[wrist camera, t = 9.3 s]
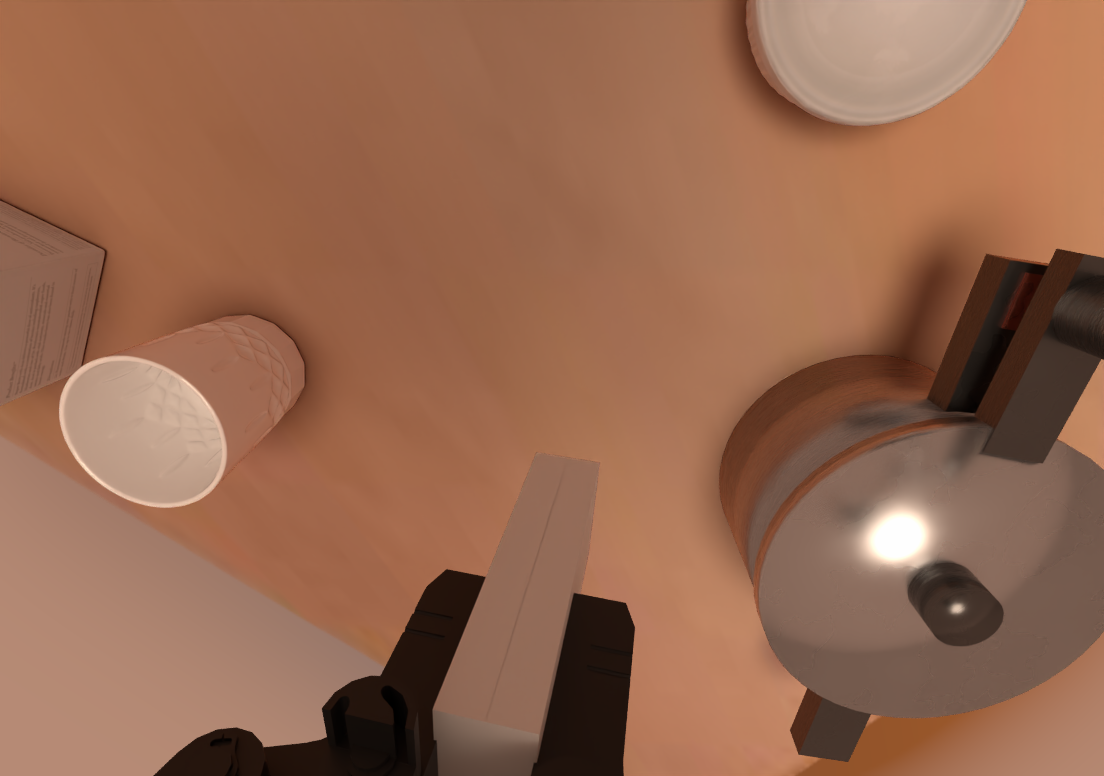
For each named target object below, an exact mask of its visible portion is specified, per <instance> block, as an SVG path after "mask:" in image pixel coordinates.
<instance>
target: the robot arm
mask: <svg viewBox="0 0 1104 776" xmlns="http://www.w3.org/2000/svg"><path fill="white" fill-rule="evenodd" d="M599 465H600V463H599V462H593V461H587V460H581V459H575V458H569V457H563V456H557V455H551V454H545V453H539V452H536V454H535V457H534V459H533V462H532V464H531V467H530V469H529V472H528V474H527V477H526V479H525V482H524V484H523V487H522V489H521V492H520V494H519V497H518V499H517V501H516V504H515V506H514V509H513V511H512V514H511V516H510V519H509V521H508V524H507V526H506V529H505V531H504V534H503V536H502V539H501V541H500V544H499V546H498V549H497V551H496V553H495V556H494V558H493V561H492V563H491V566H490V568H489V571H488V573H487V576H486V577H483V576H478V575H473V574H468V573H463V572H458V571H453V570H448V569H446V570H445V571H444V572H443V573H442V574H441V575H439V576H438V577H437V578H436V579H435V580H434V581H433V582H431V583H430V584H429V585H428V586H427V587H426V589H425V591H424V593H423V595H422V597H421V599H420V600H419V602H418V604H417V606H416V608H415V612H414V614H412V616H411V618H410V620H409V622H408V624H407V626H406V628H405V632H403V633H402V635H401V637H400V639H399V641H398V643H397V645H396V647H395V649H394V651H393V653H392V655H391V657H390V659H389V661H388V663H387V664H386V666H385V668H384V670H383V672H382V674H381V676H368V677H365V678H361V679H358V680H355V681H352V682H350V683H349V684H347V685H345V686H344V687H342V688H341V689H339V690H338V691H336V692H335V693H334V694H333V695H332V697H331V698H330V699H329V700H328V702H327V703H326V704H325V705H324V706H323V708H322V712H323V717H324V723H325V727H326V734H327V737H326V738H324V739H322V740H317V741H312V742H308V743H300V744H292V745H282V746H273V747H263V745H262V743H261V742H260V740H259V739H258V738H257V737H256V736H255V735H254V734H253V733H252V732H249V731H246V730H243V729H239V728H227V729H218V730H215V731H213V732H210V733H208V734H206V735H203V736H201V737H198V738H197V739H195V740H194V741H192V742H191V743H190V744H188V745H187V746H186V747H184V748H183V749H182V750H180V751H179V752H178V753H177V754H176V755H175V756H174V757H173V758H172V759H170V760H169V761H168V762H167V763H166V764H165V765H164V766H163V767H162V768H161V769H160V770H159V771H158V772H157V773H156V774H155V775H154V776H624V773H623V756H624V745H625V733H626V722H627V711H628V700H629V688H630V676H631V666H632V654H633V643H634V632H635V626H634V624H633V621H632V618H631V616H630V613H629V610H628V608H627V605H626V603H623V602H618V601H613V600H608V599H603V598H598V597H592V596H587V595H582V594H581V589H582V584H583V579H584V574H585V569H586V564H587V559H588V554H589V547H590V539H591V531H592V523H593V514H594V506H595V498H596V490H597V482H598V473H599Z"/></svg>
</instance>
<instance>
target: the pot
mask: <svg viewBox="0 0 1104 776" xmlns="http://www.w3.org/2000/svg"><path fill="white" fill-rule="evenodd" d="M1048 265H1049V264H1047V263H1041V262H1034V261H1028V260H1021V259H1015V258H1008V257H1002V256H996V255H989V254H986V256H985V258H984V261H983V263H982V266H981V268H980V270H979V273H978V275H977V278H976V280H975V283H974V285H973V287H972V290H971V292H970V295H969V297H968V300H967V302H966V304H965V307H964V309H963V312H962V314H961V317H960V319H959V321H958V324H957V326H956V329H955V331H954V334H953V336H952V338H951V341H950V343H949V346H948V348H947V351H946V353H945V355H944V358H943V360H942V363H941V365H940V368H939V370H938V372H937V373H936V372H934V371H932V370H930V369H928V368H927V367H925V366H922V365H920V364H917V363H914V362H911V361H909V360H904V359H900V358H895V357H890V356H879V355H858V356H849V357H843V358H836V359H833V360H829V361H825V362H822V363H818V364H816V365H813V366H810V367H808V368H805V369H803V370H801V371H799V372H797V373H795V374H793V375H791V376H789V377H787V378H786V379H784V380H782V381H781V382H780V383H778V384H777V385H775V386H774V387H772V388H771V389H769V390H768V391H767V392H766V393H765V394H764V395H763V396H761V397H760V398H759V399H758V400H757V401H756V402H755V403H754V404H753V405H752V406H751V407H750V409H749V410H748V411H747V412H746V413H745V414H744V416H743V417H742V418H741V420H740V421H739V423H738V424H737V426H736V427H735V429H734V431H733V433H732V435H731V437H730V438H729V440H728V443H727V445H726V448H725V451H724V454H723V457H722V462H721V467H720V476H719V489H720V499H721V502H722V506H723V510H724V513H725V516H726V518H727V521H728V523H729V526H730V528H731V531H732V533H733V536H734V538H735V541H736V544H737V546H738V549H739V551H740V554H741V556H742V559H743V561H744V564H745V566H746V569H747V572H748V574H749V577H750V579H751V582H752V584H753V587H754V582H753V577H754V569H755V562H756V557H757V554H758V550H759V547H760V544H761V541H762V539H763V536H764V534H765V532H766V530H767V528H768V526H769V523H770V522H771V520H772V519H773V517H774V516H775V514H776V512H777V511H778V509H779V508H780V506H781V505H782V504H783V502H784V501H785V500H786V499H787V498H788V496H789V495H790V494H791V493H792V492H793V490H794V489H795V488H796V487H797V486H798V485H799V484H800V483H801V482H802V481H804V480H805V479H806V478H807V477H808V476H809V475H810V474H811V473H812V472H813V471H815V470H816V469H817V468H819V467H820V466H821V465H823V464H824V463H825V462H827V461H828V460H829V459H831V458H832V457H834V456H835V455H837V454H839V453H840V452H842V451H844V450H845V449H847V448H849V447H851V446H852V445H854V444H856V443H858V442H860V441H863V440H865V439H867V438H869V437H871V436H874V435H876V434H878V433H881V432H884V431H887V430H890V429H893V428H896V427H899V426H902V425H906V424H911V423H915V422H920V421H924V420H929V419H938V418H948V417H974V416H975V414H976V412H977V410H978V407H979V405H980V403H981V401H982V399H983V397H984V395H985V393H986V391H987V389H988V387H989V385H990V383H991V381H992V379H993V377H994V375H995V373H996V371H997V369H998V367H999V365H1000V363H1001V361H1002V359H1003V357H1004V355H1005V353H1006V351H1007V349H1008V347H1009V344H1010V342H1011V340H1012V338H1013V336H1014V334H1015V332H1016V330H1017V328H1018V326H1019V324H1020V322H1021V320H1022V318H1023V316H1024V314H1025V312H1026V310H1027V308H1028V306H1029V304H1030V302H1031V300H1032V298H1033V296H1034V294H1035V292H1036V290H1037V288H1038V286H1039V283H1040V281H1041V279H1042V277H1043V275H1044V273H1045V271H1046V269H1047V267H1048ZM870 715H871V714H869V713H864V712H860V711H856V710H852V709H850V708H847V707H844V706H841V705H838V704H835V703H833V702H831V701H829V700H827V699H825V698H823V697H821V696H819V695H818V694H816V693H815V692H813V691H811V690H810V689H808V688H807V690H806V693H805V695H804V698H803V700H802V703H801V705H800V707H799V710H798V712H797V715H796V717H795V720H794V722H793V724H792V727H791V729H790V732H791V734H792V737H793V740H794V743H795V746H796V748H797V751H798V754H799V755H805V756H812V757H818V758H826V759H832V760H838V761H845V762H848V761H849V759H850V757H851V755H852V753H853V751H854V749H855V747H856V744H857V742H858V740H859V738H860V736H861V734H862V732H863V730H864V728H865V726H866V724H867V721H868V719H869V717H870Z"/></svg>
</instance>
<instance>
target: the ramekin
mask: <svg viewBox="0 0 1104 776" xmlns="http://www.w3.org/2000/svg"><path fill="white" fill-rule="evenodd" d="M1026 1H1027V0H747V3H746V11H747V16H746V26H747V29H748V39H749V42H750V45H751V51H752V54H753V56H754V58H755V61H756V65H757V66H758V68H759V69H760V71H761V74H762V75H763V77H764V78H765V79H766V80H767V82H768V84H769V85H770V86H771V87H773V88H774V89H775V90H776V91H777V93H778V94H779V95H781V96H783V97H785V98H786V99H787V100H788V101H789V102H791V103H794V104H795V105H797V106H798V107H799V108H801V109H802V110H804V111H806V112H807V113H809V114H811V115H813V116H815V117H817V118H820V119H822V120H825V121H828V122H832V123H836V124H841V125H848V126H872V125H880V124H887V123H892V122H896V121H900V120H903V119H906V118H909V117H912V116H915V115H917V114H920V113H922V112H924V111H926V110H928V109H930V108H932V107H934V106H936V105H937V104H939V103H941V102H942V101H944V100H945V99H947V98H949V97H950V96H951V95H953V94H954V93H956V92H957V91H959V90H960V89H961V88H963V87H964V86H965V85H966V84H967V83H968V82H970V81H971V80H972V79H973V78H974V77H975V76H976V75H977V74H978V73H979V72H980V71H981V70H982V69H983V68H984V67H985V66H986V65H987V63H988V62H989V61H990V60H991V59H992V57H993V56H994V55H995V54H996V52H997V51H998V50H999V49H1000V47H1001V46H1002V45H1003V43H1004V42H1005V40H1006V39H1007V37H1008V36H1009V34H1010V33H1011V31H1012V29H1013V27H1014V26H1015V24H1016V22H1017V20H1018V18H1019V16H1020V14H1021V12H1022V10H1023V8H1024V6H1025V3H1026Z"/></svg>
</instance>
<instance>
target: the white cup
mask: <svg viewBox="0 0 1104 776" xmlns="http://www.w3.org/2000/svg"><path fill="white" fill-rule="evenodd" d="M304 386H305V366H304V361H303V359H302V357H301V355H300V353H299V351H298V349H297V347H296V345H295V343H294V341H293V340H292V339H291V338H290V337H289V336H287V335H286V334H285V333H284V332H283V331H282V330H281V329H280V328H279V327H277V326H276V325H275V324H274V323H271V322H268V321H266V320H263V319H260V318H258V317H255V316H252V315H236V316H225V317H222V318H219V319H216V320H214V321H211V322H208V323H204V324H200V325H196V326H192V327H189V328H186V329H183V330H181V331H177V332H174V333H170V334H167V335H164V336H161V337H158V338H156V339H153V340H150V341H147V342H144V343H142V344H139V345H136V346H133V347H130V348H128V349H125V350H122V351H119V352H116V353H113V354H110V355H107V356H105V357H102V358H99V359H96V360H93V361H91V362H89V363H87V364H85V365H83V366H82V367H81V368H79V369H78V370H77V371H76V372H75V373H74V374H73V375H72V376H71V377H70V378H69V380H68V381H67V383H66V385H65V387H64V389H63V391H62V394H61V398H60V404H59V418H60V425H61V429H62V432H63V435H64V438H65V441H66V443H67V445H68V447H69V449H70V451H71V452H72V454H73V455H74V457H75V458H76V460H77V461H78V462H79V464H80V465H81V466H82V467H83V469H84V470H85V471H86V472H87V473H88V474H89V475H90V476H91V477H92V478H94V479H95V480H96V481H97V482H98V483H100V484H101V485H102V486H104V487H105V488H107V489H108V490H110V491H111V492H113V493H115V494H117V495H119V496H121V497H123V498H125V499H127V500H130V501H132V502H135V503H139V504H142V505H146V506H152V507H162V508H170V507H179V506H184V505H188V504H191V503H193V502H196V501H198V500H200V499H202V498H203V497H205V496H206V495H207V494H209V493H210V492H211V491H212V490H213V489H214V488H215V487H216V486H217V485H218V484H219V483H220V482H221V481H222V480H223V479H224V478H225V477H226V476H227V475H228V474H229V473H230V472H231V471H232V470H233V469H234V468H235V467H236V466H237V465H238V464H239V463H240V462H241V461H242V460H243V459H244V458H245V457H246V456H247V455H248V454H249V453H250V452H251V451H252V450H253V449H254V448H255V447H256V446H257V445H258V444H259V443H260V442H261V441H262V439H263V438H264V437H265V436H266V435H267V434H268V433H269V432H270V431H271V430H272V429H273V428H274V427H275V425H276V424H277V423H278V422H279V421H280V419H281V418H282V416H283V415H284V414H285V413H286V412H287V411H289V410H290V409H291V408H292V407H293V406H294V405H295V403H296V401H297V399H298V397H299V396H300V394H301V392H302V390H303V388H304Z"/></svg>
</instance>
